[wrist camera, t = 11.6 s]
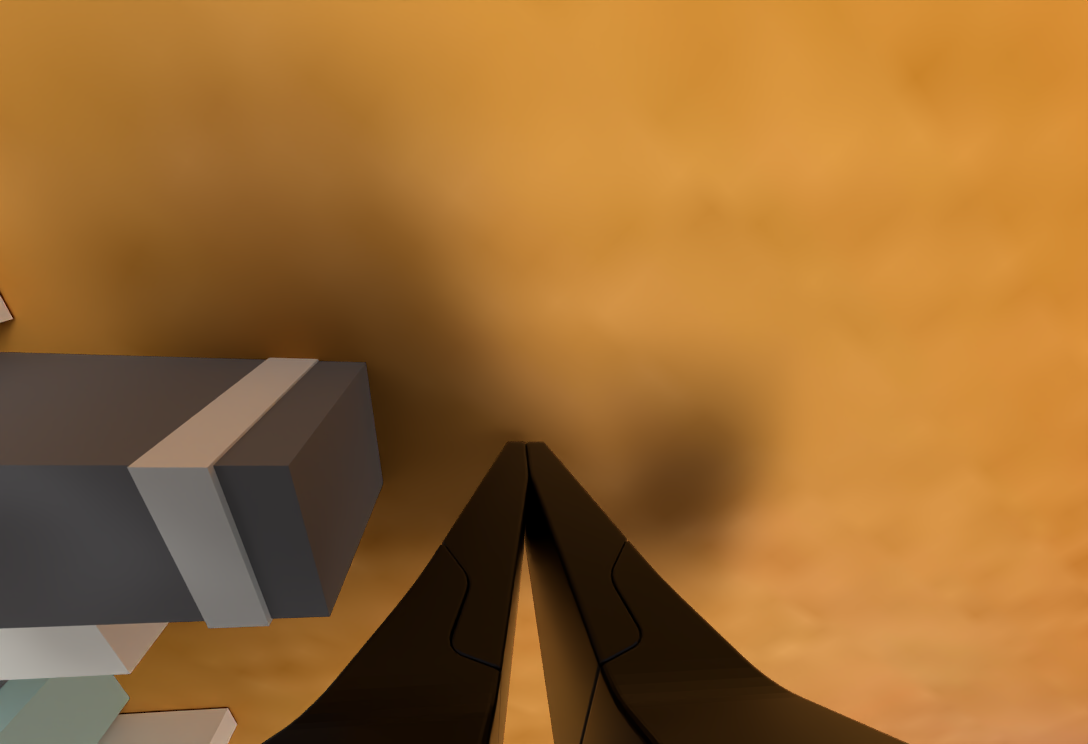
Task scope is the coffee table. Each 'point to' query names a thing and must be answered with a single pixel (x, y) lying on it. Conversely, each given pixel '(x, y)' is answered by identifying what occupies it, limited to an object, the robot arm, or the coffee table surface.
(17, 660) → the slot rack
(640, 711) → the robot arm
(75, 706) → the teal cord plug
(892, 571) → the coffee table surface
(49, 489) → the dark grey block
